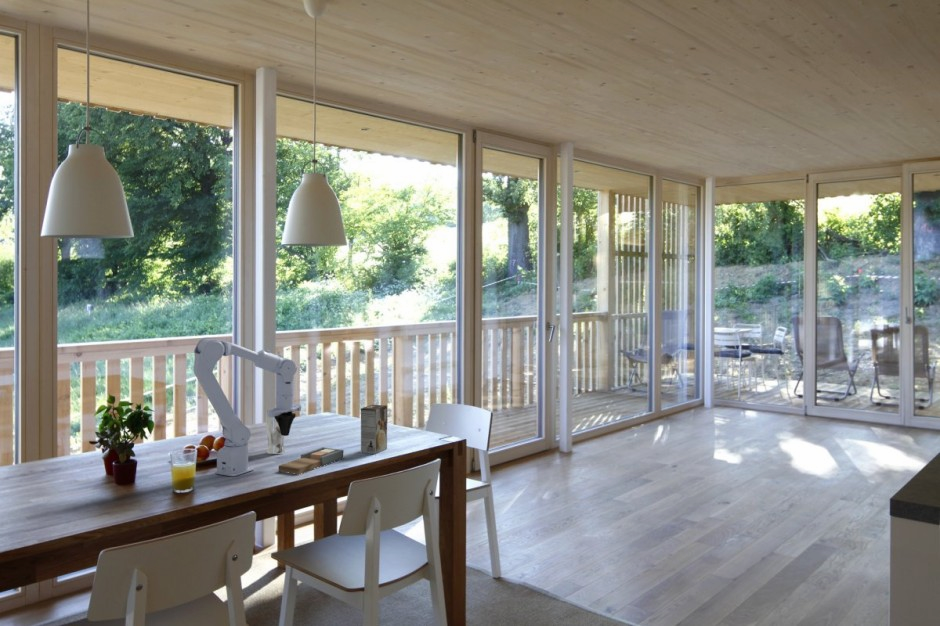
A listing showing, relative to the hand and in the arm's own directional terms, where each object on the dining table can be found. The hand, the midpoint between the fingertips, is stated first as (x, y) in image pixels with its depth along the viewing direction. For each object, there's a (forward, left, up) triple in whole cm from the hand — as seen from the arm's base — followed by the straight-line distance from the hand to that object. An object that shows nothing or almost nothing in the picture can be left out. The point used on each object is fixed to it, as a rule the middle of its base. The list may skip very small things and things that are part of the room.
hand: (284, 435), depth 245 cm
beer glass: (+12, +14, -10) cm, 21 cm away
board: (-2, -8, -10) cm, 13 cm away
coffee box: (+31, -15, -10) cm, 36 cm away
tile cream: (+12, -8, -9) cm, 17 cm away
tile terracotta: (+8, -8, -9) cm, 15 cm away
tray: (+10, -8, -10) cm, 16 cm away
